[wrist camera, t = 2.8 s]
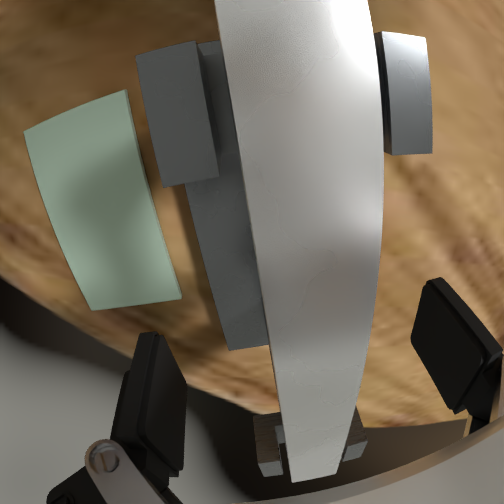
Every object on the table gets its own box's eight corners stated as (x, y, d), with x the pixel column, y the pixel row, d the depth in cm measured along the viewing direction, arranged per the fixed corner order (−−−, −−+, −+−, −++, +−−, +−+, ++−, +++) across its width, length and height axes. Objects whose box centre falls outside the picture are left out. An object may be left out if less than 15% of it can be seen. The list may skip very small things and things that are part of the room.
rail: (216, 21, 5) (212, -13, 3) (321, 14, 5) (363, -15, 3) (286, 447, 15) (292, 482, 13) (327, 439, 15) (335, 473, 13)
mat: (27, 130, 15) (23, 131, 14) (126, 89, 15) (124, 89, 14) (93, 306, 22) (91, 310, 22) (182, 294, 22) (181, 298, 22)
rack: (162, 55, 14) (33, -6, 3) (315, 35, 14) (468, -32, 3) (228, 340, 25) (236, 489, 14) (332, 321, 25) (383, 459, 14)
